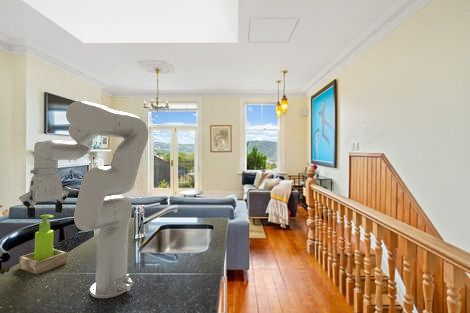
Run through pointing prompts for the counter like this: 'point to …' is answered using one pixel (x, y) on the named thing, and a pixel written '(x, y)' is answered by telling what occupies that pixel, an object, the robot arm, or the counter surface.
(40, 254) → the soap dispenser
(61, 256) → the box
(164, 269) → the counter surface
